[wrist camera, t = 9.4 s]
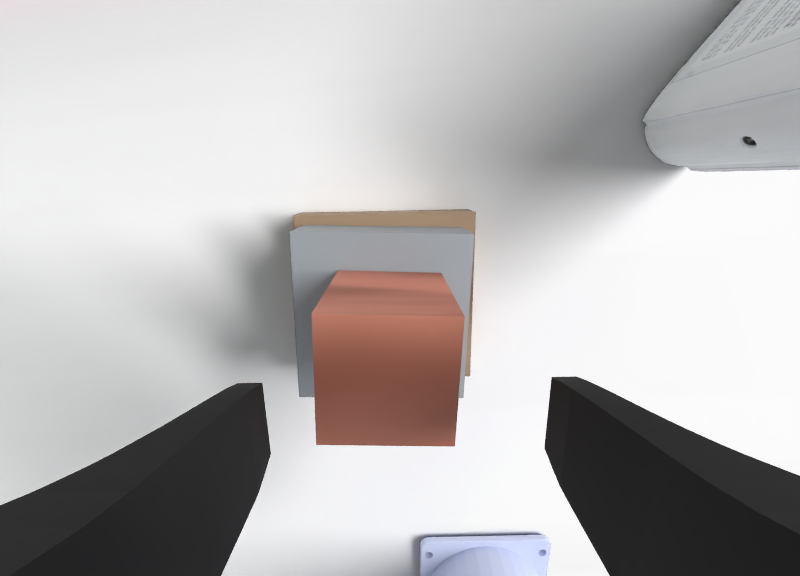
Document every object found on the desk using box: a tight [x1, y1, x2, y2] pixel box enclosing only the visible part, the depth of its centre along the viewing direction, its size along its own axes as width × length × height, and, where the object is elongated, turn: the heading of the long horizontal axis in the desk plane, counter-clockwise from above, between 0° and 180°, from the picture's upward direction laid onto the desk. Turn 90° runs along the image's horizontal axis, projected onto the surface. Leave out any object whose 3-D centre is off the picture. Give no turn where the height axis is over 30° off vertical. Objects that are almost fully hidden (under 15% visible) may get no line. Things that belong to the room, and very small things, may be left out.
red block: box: [312, 270, 465, 446], centre depth 13 cm, size 4×4×5 cm
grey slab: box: [289, 225, 474, 398], centre depth 16 cm, size 7×7×2 cm
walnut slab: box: [293, 209, 476, 376], centre depth 19 cm, size 8×8×2 cm
